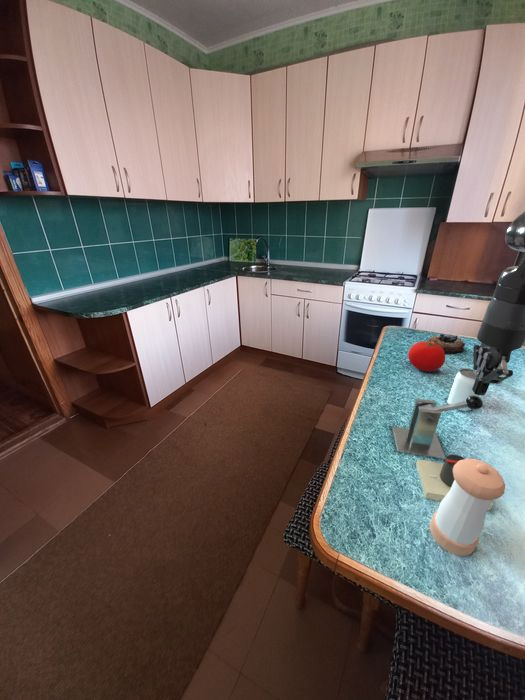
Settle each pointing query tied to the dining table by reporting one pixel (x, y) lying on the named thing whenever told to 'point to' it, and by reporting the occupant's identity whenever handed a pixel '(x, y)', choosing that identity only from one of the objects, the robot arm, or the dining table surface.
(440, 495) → the dial panel
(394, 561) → the dining table surface
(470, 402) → the tap lever
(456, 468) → the pepper shaker
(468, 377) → the can
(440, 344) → the pastry
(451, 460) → the dial knob
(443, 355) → the tomato
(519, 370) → the dining table surface
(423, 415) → the bracket
